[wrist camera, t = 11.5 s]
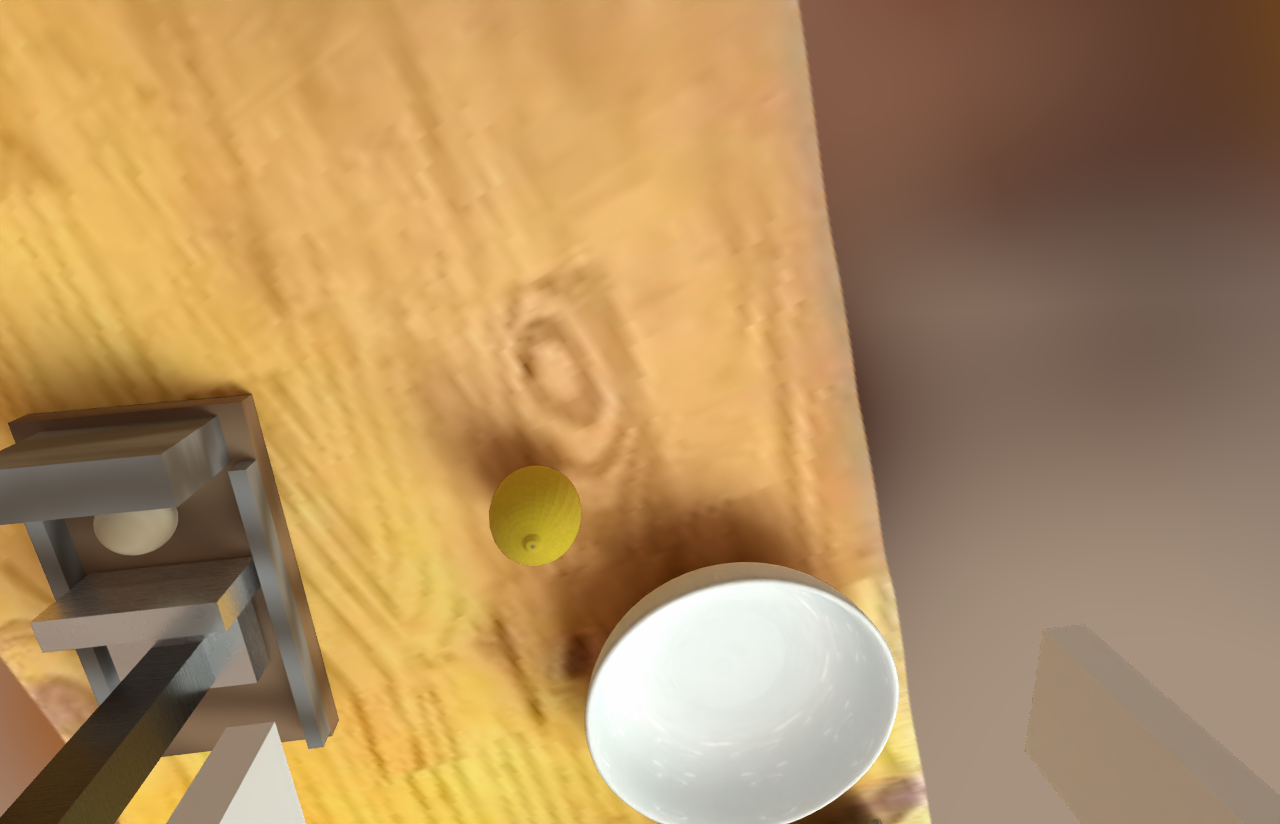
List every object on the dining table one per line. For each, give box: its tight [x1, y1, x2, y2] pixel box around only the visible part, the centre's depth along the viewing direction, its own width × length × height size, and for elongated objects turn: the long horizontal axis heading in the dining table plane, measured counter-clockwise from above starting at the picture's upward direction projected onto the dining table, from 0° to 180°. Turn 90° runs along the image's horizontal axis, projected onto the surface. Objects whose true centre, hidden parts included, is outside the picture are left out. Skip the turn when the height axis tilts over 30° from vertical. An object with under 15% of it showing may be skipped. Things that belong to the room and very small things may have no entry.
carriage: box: [0, 556, 270, 824], centre depth 37 cm, size 8×10×15 cm
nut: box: [93, 507, 178, 555], centre depth 40 cm, size 4×4×4 cm
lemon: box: [489, 465, 581, 566], centre depth 42 cm, size 6×6×8 cm
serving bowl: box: [585, 562, 899, 824], centre depth 48 cm, size 21×21×7 cm
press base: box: [0, 394, 339, 757], centre depth 42 cm, size 25×13×8 cm, turn 4°
